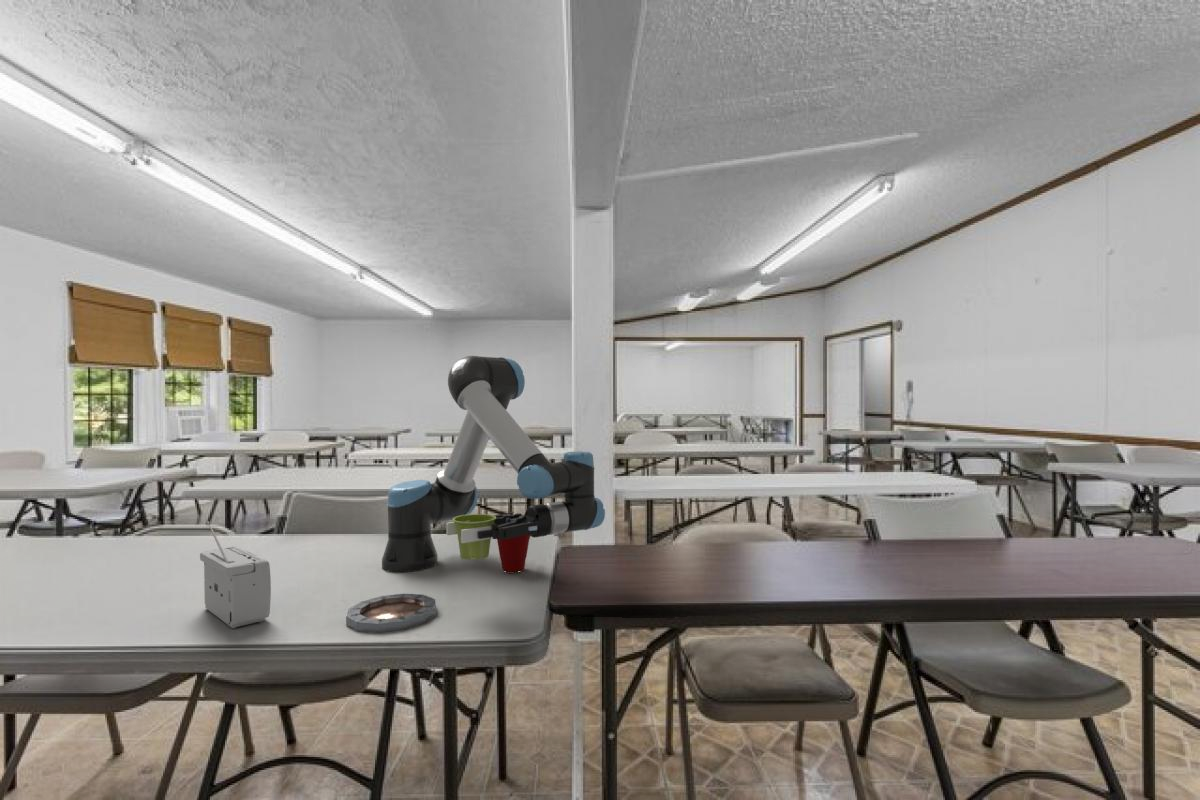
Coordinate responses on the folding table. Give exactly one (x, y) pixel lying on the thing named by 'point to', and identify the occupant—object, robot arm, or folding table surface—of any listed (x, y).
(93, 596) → the folding table surface
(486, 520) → the plant pot
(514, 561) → the plastic cup
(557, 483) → the robot arm
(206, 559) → the stereo radio cassette player
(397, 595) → the steel ring
